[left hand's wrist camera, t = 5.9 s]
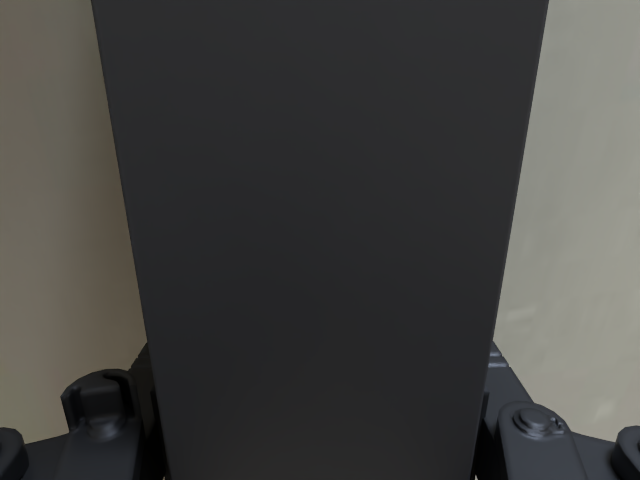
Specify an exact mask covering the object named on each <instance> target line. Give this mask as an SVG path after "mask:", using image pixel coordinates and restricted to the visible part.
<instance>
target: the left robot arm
mask: <svg viewBox="0 0 640 480" xmlns="http://www.w3.org/2000/svg"><path fill="white" fill-rule="evenodd" d="M60 397H61V401H62V405H63V409H64V412H65V416H66V420H67V424H68V428H69V433H67V434H64V435H61V436H58V437H54V438H50V439H45V440H41V441H37V442H33V443H28V444H24V440H23V437H22V434H20V433H19V432H18V431H17V430H16V429H11V428H5V427H3V428H0V480H163V478H164V477H165V480H170V475H169V469H168V463H167V457H166V451H165V445H164V439H163V433H162V427H161V420H160V414H159V408H158V402H157V396H156V390H155V384H154V378H153V372H152V366H151V360H150V354H149V348H148V342H147V343H146V344H145V346H144V347H143V349H142V350H141V352H140V353H139V355H138V358H136V359H135V361H134V363H133V364H132V366H131V369H129V370H128V371H126V370H122V369H105V370H101V371H97V372H93V373H90V374H88V375H86V376H84V377H81V378H79V379H77V380H76V381H75V382H73V383H72V384H71V385H69V386H68V387H67V388H66V389H65V391H64V392H63V394H62V395H61V396H60ZM475 475H476V476H477V479H478V480H640V426H630V427H625V428H624V429H622V430H621V431H620V432H619V433H618V436H617V439H616V442H611V441H606V440H602V439H598V438H594V437H589V436H585V435H581V434H578V433H575V432H572V431H571V430H570V429H569V427H568V425H567V424H566V422H565V421H564V420H563V419H562V418H561V417H560V416H558V415H557V414H556V413H555V412H553V411H552V410H550V409H548V408H546V407H544V406H542V405H539V404H536V403H534V402H533V400H532V399H531V397H530V396H529V394H528V393H527V391H526V390H525V388H524V387H523V385H522V384H521V382H520V381H519V379H518V378H517V376H516V375H515V373H514V372H513V370H512V369H511V367H509V364H508V363H507V361H506V360H505V358H504V357H502V354H501V352H500V351H499V349H498V348H497V346H496V345H495V343H494V342H493V341H492V347H491V353H490V360H489V366H488V372H487V378H486V384H485V390H484V396H483V402H482V408H481V414H480V420H479V426H478V432H477V438H476V444H475V450H474V456H473V462H472V468H471V474H470V480H475Z"/></svg>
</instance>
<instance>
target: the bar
mask: <svg viewBox="0 0 640 480" xmlns="http://www.w3.org/2000/svg"><path fill="white" fill-rule="evenodd" d="M91 3H92V10H93V16H94V22H95V28H96V34H97V40H98V46H99V52H100V58H101V64H102V70H103V76H104V82H105V88H106V94H107V100H108V106H109V112H110V118H111V124H112V130H113V136H114V142H115V149H116V155H117V161H118V167H119V173H120V179H121V185H122V191H123V197H124V203H125V209H126V215H127V221H128V227H129V233H130V239H131V245H132V251H133V257H134V263H135V269H136V275H137V281H138V288H139V294H140V300H141V306H142V312H143V318H144V324H145V330H146V336H147V342H148V348H149V354H150V360H151V366H152V372H153V378H154V384H155V390H156V396H157V402H158V408H159V414H160V420H161V427H162V433H163V439H164V445H165V451H166V457H167V463H168V469H169V475H170V480H470V474H471V468H472V462H473V456H474V450H475V444H476V438H477V432H478V426H479V420H480V414H481V408H482V402H483V396H484V390H485V384H486V378H487V372H488V366H489V360H490V353H491V347H492V341H493V335H494V329H495V323H496V317H497V311H498V305H499V299H500V293H501V287H502V281H503V275H504V269H505V263H506V257H507V251H508V245H509V239H510V233H511V227H512V221H513V214H514V208H515V202H516V196H517V190H518V184H519V178H520V172H521V166H522V160H523V154H524V148H525V142H526V136H527V130H528V124H529V118H530V112H531V106H532V100H533V94H534V88H535V82H536V75H537V69H538V63H539V57H540V51H541V45H542V39H543V33H544V27H545V21H546V15H547V9H548V3H549V0H91Z"/></svg>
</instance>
